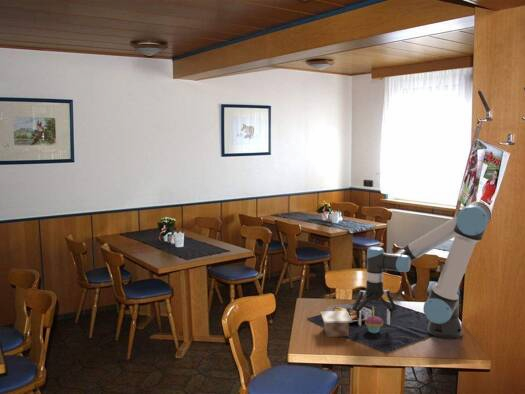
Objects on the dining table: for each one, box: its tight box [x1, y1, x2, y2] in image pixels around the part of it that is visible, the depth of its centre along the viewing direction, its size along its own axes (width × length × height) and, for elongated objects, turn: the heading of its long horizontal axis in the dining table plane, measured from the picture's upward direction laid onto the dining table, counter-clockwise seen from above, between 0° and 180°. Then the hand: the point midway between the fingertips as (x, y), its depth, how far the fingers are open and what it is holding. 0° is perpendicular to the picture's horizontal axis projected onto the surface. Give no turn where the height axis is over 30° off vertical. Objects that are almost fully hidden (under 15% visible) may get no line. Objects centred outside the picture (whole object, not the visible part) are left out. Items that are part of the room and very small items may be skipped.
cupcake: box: [364, 306, 384, 334], centre depth 245 cm, size 9×8×12 cm
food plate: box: [325, 303, 373, 323], centre depth 266 cm, size 25×23×4 cm
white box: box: [319, 310, 354, 338], centre depth 245 cm, size 13×13×8 cm
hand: (374, 324), depth 245 cm, fingers open, 13 cm apart
